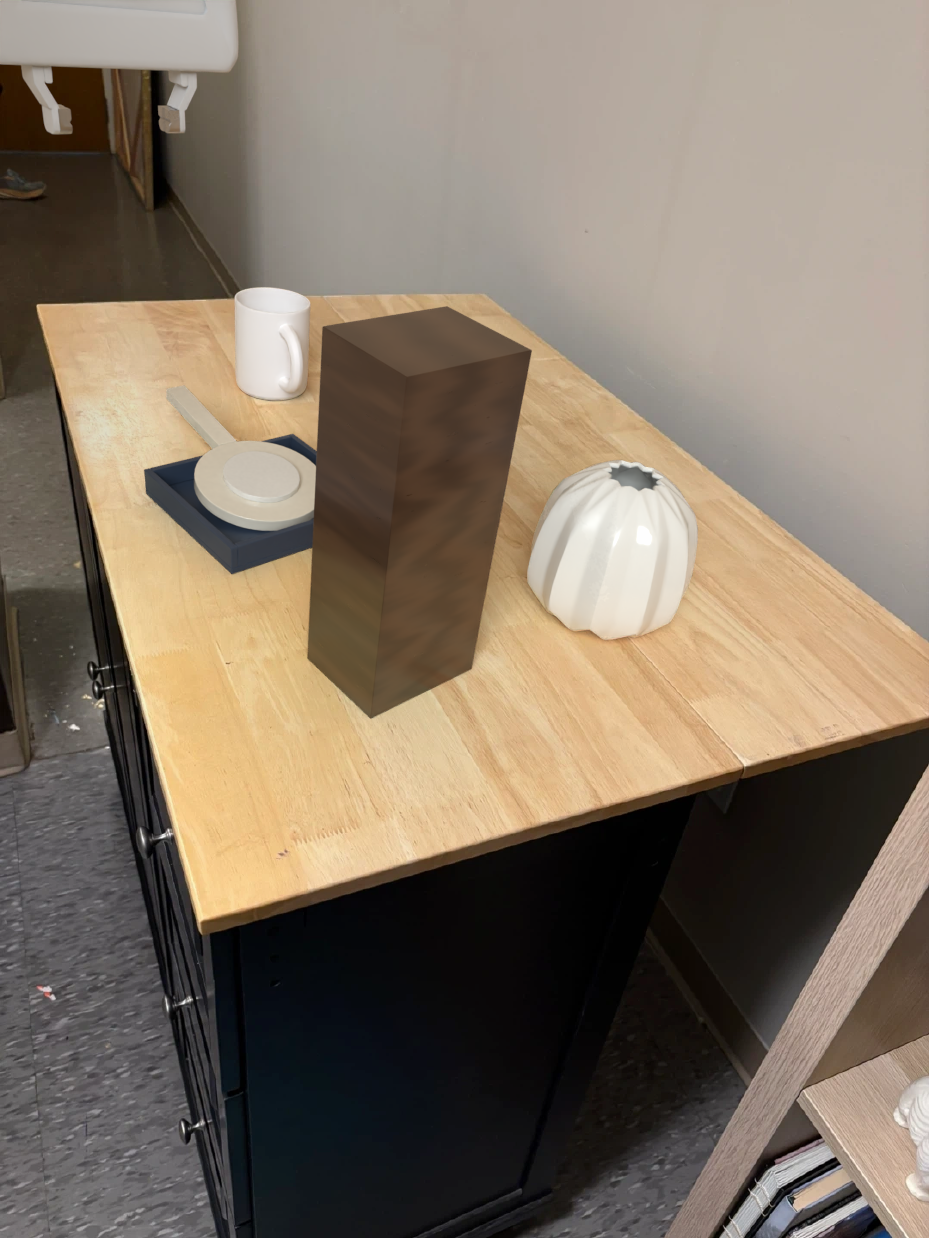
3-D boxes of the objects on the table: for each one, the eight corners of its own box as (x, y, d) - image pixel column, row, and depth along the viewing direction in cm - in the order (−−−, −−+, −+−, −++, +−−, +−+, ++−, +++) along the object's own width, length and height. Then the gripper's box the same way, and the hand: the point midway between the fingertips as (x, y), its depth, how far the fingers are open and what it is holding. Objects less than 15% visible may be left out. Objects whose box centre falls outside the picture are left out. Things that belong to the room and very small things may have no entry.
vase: (704, 634, 80) (755, 501, 72) (583, 676, 73) (623, 535, 65) (605, 552, 88) (640, 425, 80) (487, 583, 81) (513, 448, 73)
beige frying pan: (237, 546, 79) (239, 530, 78) (118, 408, 89) (118, 392, 88) (348, 510, 87) (351, 496, 85) (227, 386, 96) (228, 371, 95)
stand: (370, 719, 66) (406, 377, 50) (306, 658, 70) (322, 326, 54) (471, 669, 72) (532, 350, 56) (407, 616, 76) (447, 306, 60)
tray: (231, 574, 77) (231, 549, 75) (145, 493, 85) (143, 469, 84) (382, 524, 87) (384, 500, 85) (292, 456, 95) (292, 433, 93)
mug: (331, 412, 104) (336, 324, 98) (261, 420, 100) (262, 328, 94) (291, 370, 112) (293, 285, 106) (225, 375, 108) (224, 288, 102)
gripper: (-39, -101, 57) (-2, 143, 65) (248, -61, 69) (249, 140, 77) (-75, -111, 60) (-35, 123, 68) (205, -71, 72) (210, 123, 81)
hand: (118, 132), depth 73 cm, fingers open, 8 cm apart
